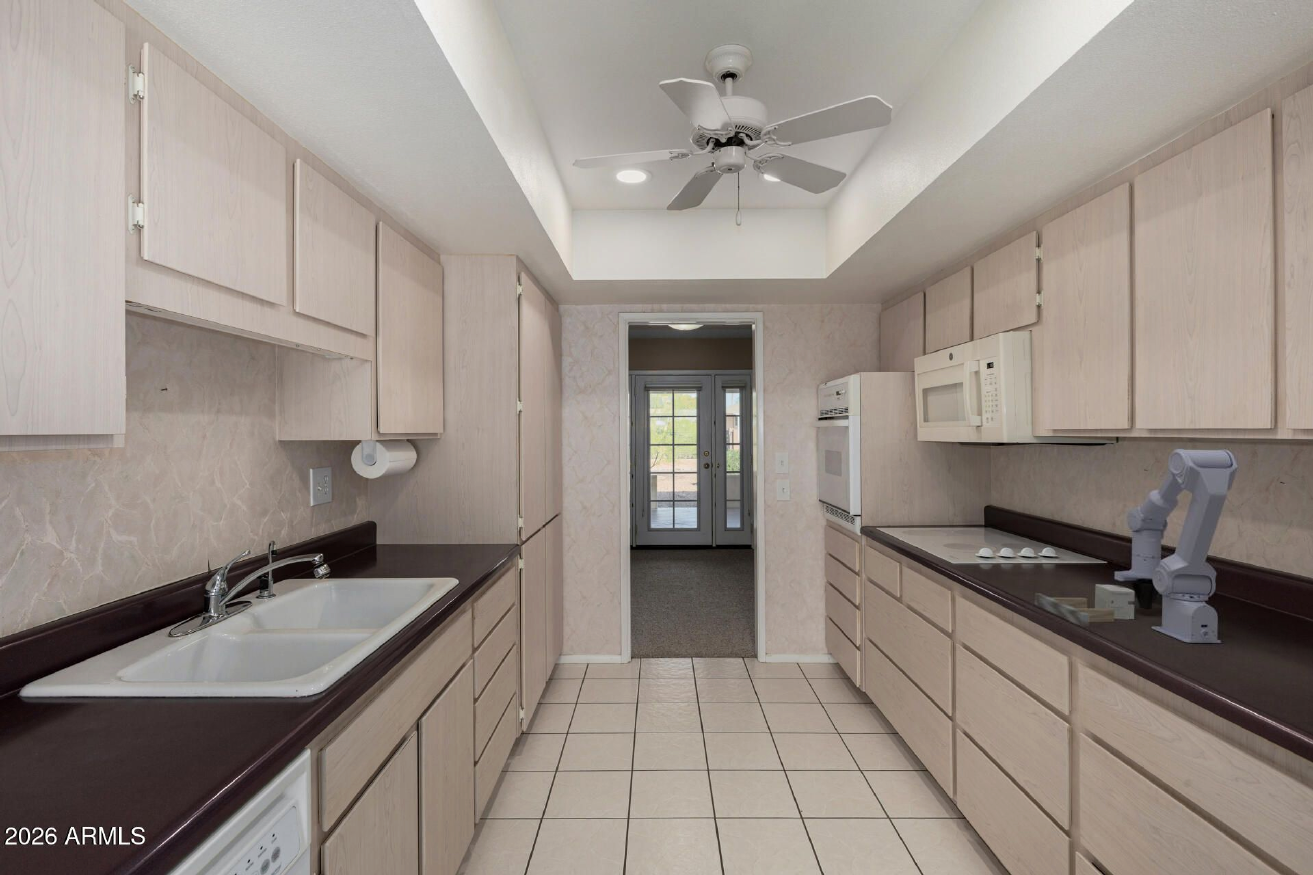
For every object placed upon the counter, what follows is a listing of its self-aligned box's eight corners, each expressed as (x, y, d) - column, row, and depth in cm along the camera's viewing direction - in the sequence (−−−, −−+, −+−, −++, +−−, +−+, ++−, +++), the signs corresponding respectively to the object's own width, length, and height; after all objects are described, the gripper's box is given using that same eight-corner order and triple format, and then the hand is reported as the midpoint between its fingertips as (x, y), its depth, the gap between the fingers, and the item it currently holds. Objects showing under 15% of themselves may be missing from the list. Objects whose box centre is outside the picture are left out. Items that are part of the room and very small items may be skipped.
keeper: (1126, 627, 141) (1126, 614, 141) (1082, 626, 141) (1082, 614, 141) (1073, 604, 159) (1073, 593, 159) (1034, 604, 159) (1034, 593, 159)
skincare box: (1108, 618, 147) (1108, 589, 147) (1094, 611, 153) (1094, 583, 153) (1134, 620, 146) (1135, 591, 146) (1119, 612, 152) (1120, 584, 152)
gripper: (1161, 552, 153) (1160, 603, 153) (1105, 552, 153) (1105, 603, 154) (1185, 558, 146) (1184, 612, 146) (1127, 558, 146) (1126, 611, 146)
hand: (1145, 608), depth 149 cm, fingers closed
